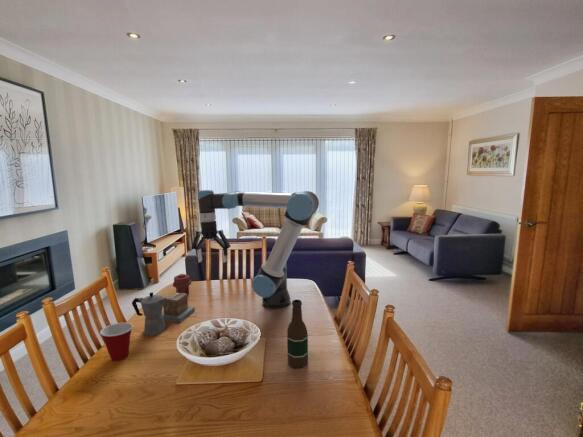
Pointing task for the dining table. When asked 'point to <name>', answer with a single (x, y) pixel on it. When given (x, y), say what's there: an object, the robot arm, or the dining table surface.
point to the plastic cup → (117, 340)
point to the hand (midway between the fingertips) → (212, 261)
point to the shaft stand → (181, 316)
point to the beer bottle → (297, 338)
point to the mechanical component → (182, 283)
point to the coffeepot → (151, 313)
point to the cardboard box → (175, 304)
